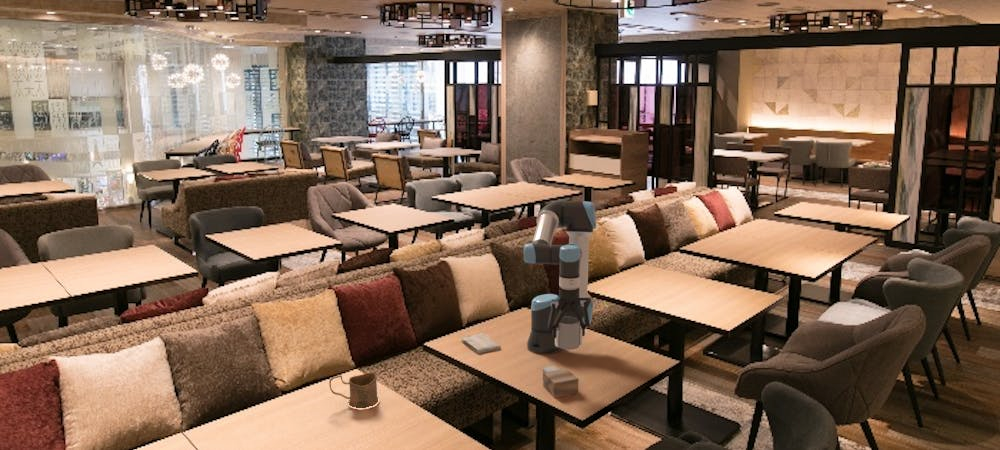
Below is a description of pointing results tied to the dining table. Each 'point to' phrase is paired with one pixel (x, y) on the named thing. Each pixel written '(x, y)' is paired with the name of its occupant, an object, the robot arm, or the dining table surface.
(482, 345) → the washcloth
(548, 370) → the grey block
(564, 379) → the walnut block
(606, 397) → the dining table surface
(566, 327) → the cup
